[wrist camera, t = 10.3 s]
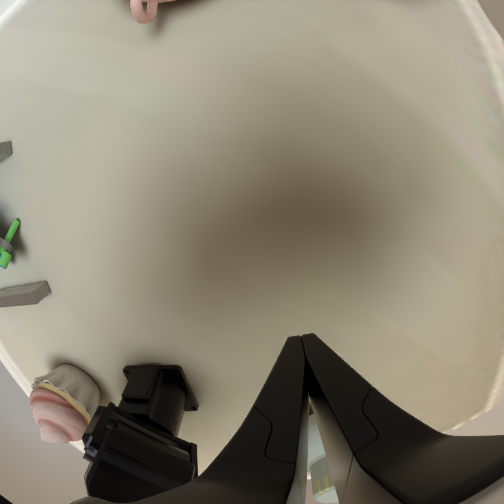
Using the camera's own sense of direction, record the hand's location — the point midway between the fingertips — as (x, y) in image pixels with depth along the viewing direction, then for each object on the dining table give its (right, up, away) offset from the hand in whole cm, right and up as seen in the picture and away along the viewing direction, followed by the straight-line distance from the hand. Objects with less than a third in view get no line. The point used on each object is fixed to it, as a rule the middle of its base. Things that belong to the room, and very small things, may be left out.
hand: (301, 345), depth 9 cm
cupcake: (-23, -13, +19) cm, 32 cm away
